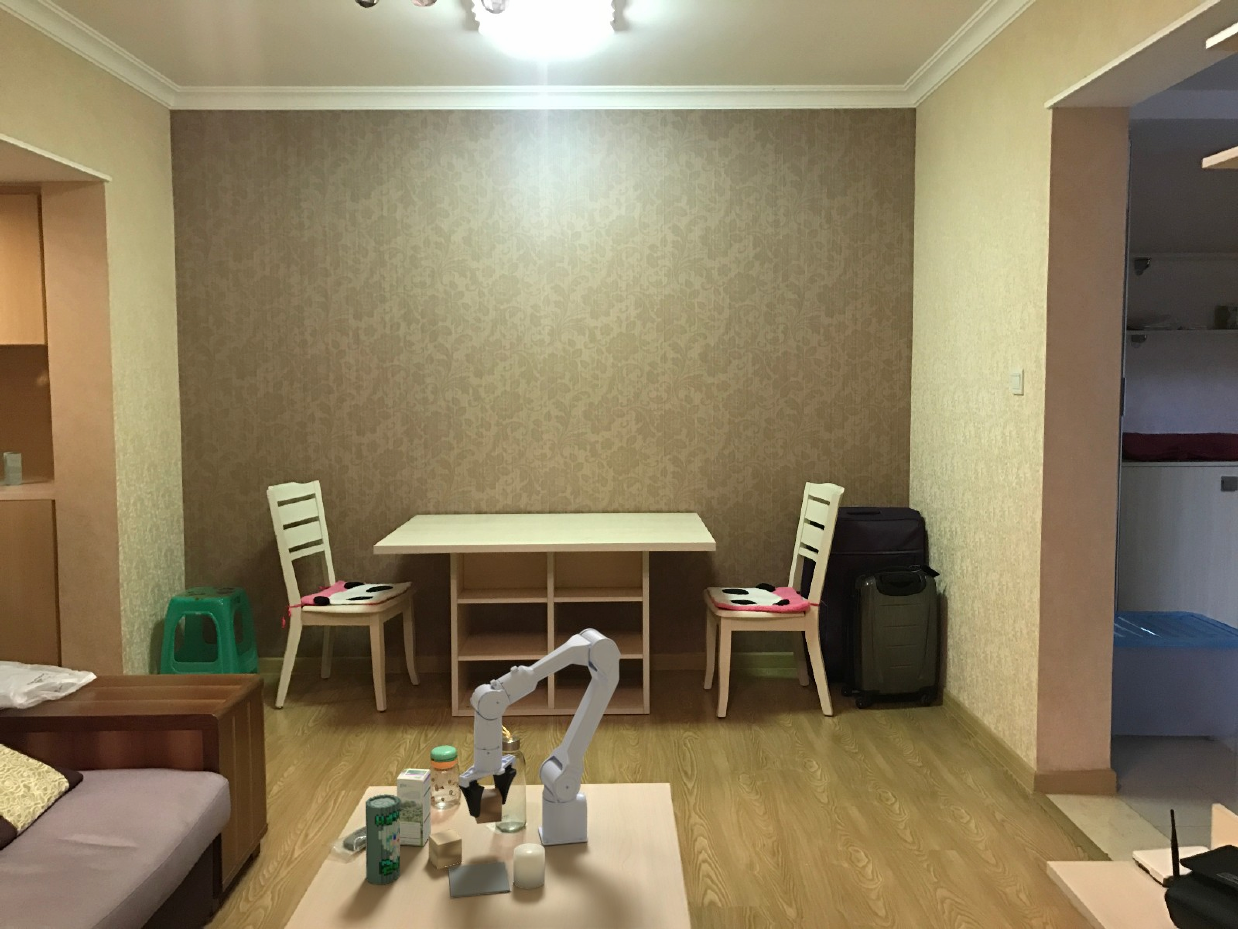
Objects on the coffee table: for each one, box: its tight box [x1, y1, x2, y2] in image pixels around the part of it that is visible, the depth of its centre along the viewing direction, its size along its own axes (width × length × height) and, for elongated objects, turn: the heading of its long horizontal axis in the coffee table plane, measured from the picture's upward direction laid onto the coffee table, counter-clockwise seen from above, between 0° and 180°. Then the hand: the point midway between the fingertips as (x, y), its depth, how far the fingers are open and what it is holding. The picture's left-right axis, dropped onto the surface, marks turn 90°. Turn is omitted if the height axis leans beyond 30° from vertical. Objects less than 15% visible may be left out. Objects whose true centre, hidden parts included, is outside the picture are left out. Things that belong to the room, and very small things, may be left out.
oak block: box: [428, 828, 463, 870], centre depth 191 cm, size 5×5×5 cm
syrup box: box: [396, 768, 432, 847], centre depth 199 cm, size 6×6×14 cm
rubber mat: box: [448, 861, 511, 899], centre depth 184 cm, size 11×11×1 cm
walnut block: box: [474, 787, 503, 825], centre depth 196 cm, size 5×5×5 cm
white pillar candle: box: [512, 842, 546, 890], centre depth 184 cm, size 6×6×6 cm
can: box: [365, 793, 401, 886], centre depth 184 cm, size 6×6×15 cm
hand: (487, 809), depth 196 cm, fingers closed on walnut block, 7 cm apart
